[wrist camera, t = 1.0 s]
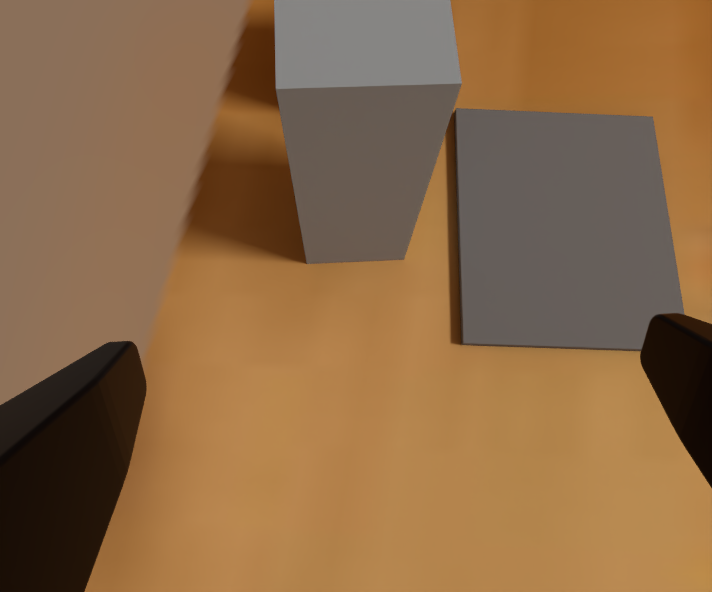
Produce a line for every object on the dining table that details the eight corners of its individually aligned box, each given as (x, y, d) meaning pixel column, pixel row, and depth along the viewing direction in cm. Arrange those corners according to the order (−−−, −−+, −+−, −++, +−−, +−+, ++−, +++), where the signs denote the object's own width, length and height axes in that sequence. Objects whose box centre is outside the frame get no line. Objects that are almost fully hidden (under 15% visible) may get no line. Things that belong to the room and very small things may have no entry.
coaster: (684, 352, 23) (690, 350, 23) (461, 345, 23) (463, 343, 23) (648, 121, 27) (652, 116, 26) (454, 113, 26) (456, 108, 26)
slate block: (404, 259, 24) (461, 83, 13) (306, 263, 24) (275, 88, 12) (396, 173, 25) (442, -58, 14) (303, 176, 25) (273, -55, 14)
